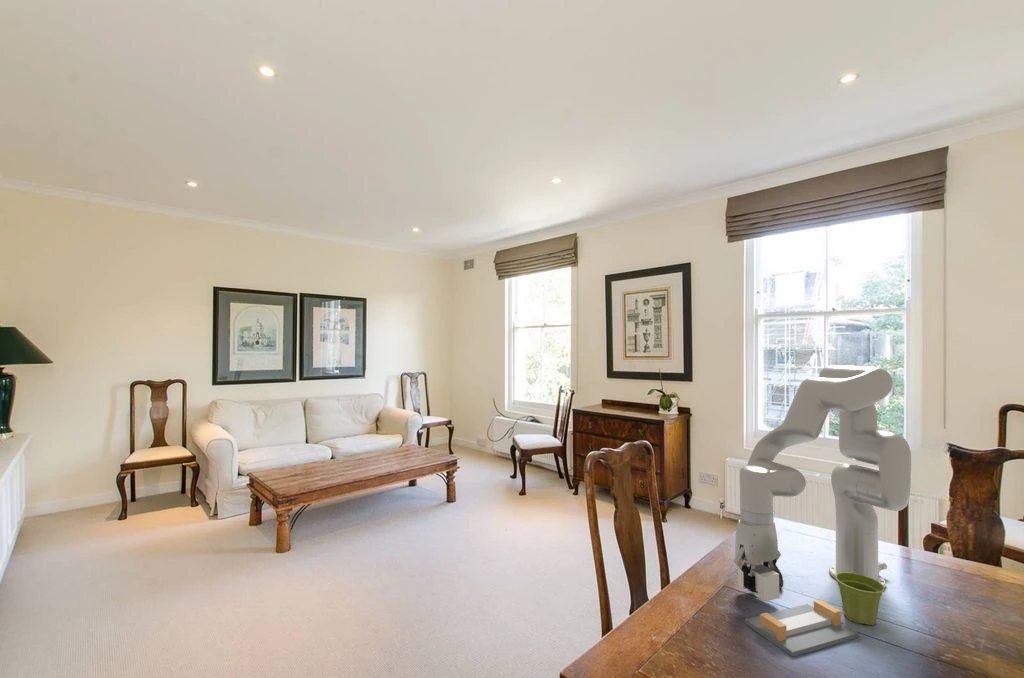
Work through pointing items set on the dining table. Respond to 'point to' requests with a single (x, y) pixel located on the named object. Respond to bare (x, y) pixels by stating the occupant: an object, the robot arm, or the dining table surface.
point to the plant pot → (859, 596)
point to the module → (763, 582)
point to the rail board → (803, 628)
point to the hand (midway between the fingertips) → (758, 586)
